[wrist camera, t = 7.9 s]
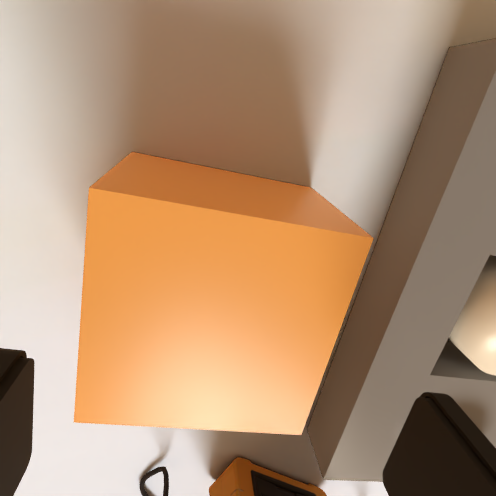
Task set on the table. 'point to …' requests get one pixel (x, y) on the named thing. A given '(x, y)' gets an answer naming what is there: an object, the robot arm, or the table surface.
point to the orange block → (209, 298)
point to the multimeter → (247, 482)
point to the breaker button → (479, 322)
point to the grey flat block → (419, 282)
